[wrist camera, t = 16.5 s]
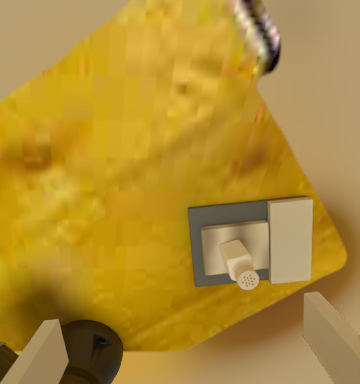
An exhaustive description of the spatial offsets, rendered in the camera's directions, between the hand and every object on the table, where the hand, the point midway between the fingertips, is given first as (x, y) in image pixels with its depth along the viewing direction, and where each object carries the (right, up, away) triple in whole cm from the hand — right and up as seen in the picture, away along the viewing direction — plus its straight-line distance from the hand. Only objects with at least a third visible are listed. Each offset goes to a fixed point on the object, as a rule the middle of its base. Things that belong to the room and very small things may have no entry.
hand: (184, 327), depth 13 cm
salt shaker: (+9, -3, +31) cm, 32 cm away
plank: (+10, -3, +32) cm, 34 cm away
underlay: (+13, -2, +33) cm, 36 cm away
